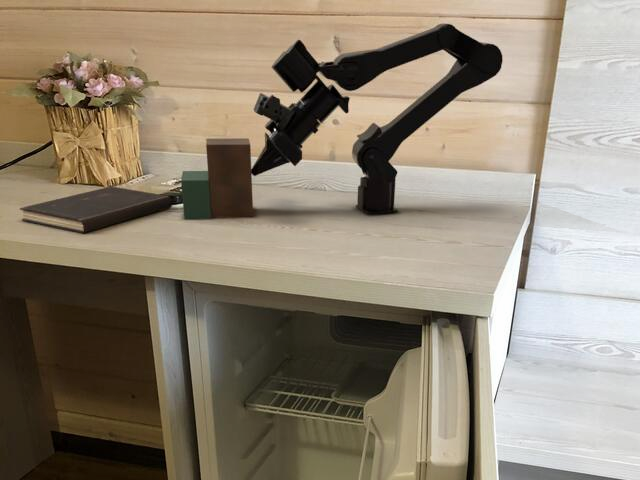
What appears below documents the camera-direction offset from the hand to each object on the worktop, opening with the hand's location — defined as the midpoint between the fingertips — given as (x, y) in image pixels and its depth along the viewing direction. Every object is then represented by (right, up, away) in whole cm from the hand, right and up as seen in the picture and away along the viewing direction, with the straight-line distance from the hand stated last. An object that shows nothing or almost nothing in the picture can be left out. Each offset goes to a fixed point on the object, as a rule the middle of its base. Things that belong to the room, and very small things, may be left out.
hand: (252, 173), depth 141 cm
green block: (-11, -7, +2) cm, 13 cm away
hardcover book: (-29, -8, 0) cm, 30 cm away
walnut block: (-4, -6, +3) cm, 8 cm away
